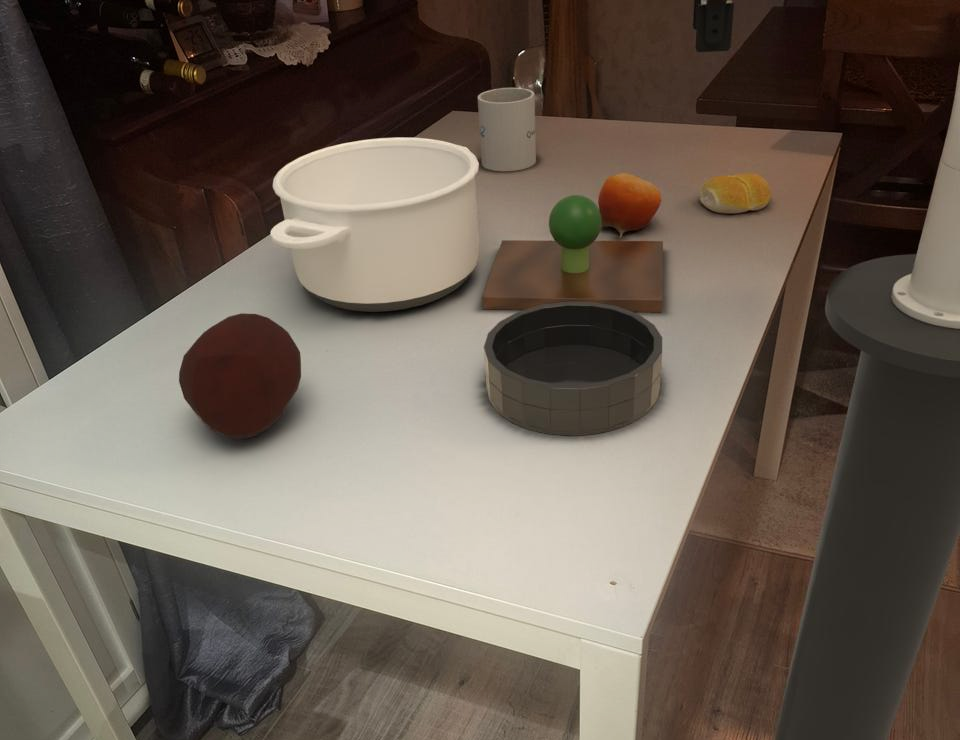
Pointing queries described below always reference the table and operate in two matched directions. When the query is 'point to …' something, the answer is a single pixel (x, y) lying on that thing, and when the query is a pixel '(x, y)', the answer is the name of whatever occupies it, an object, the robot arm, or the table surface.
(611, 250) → the board
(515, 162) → the mug
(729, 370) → the table surface
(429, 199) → the pot
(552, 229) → the broccoli
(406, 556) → the table surface
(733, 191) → the bread roll
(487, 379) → the pan
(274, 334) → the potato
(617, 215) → the fruit
